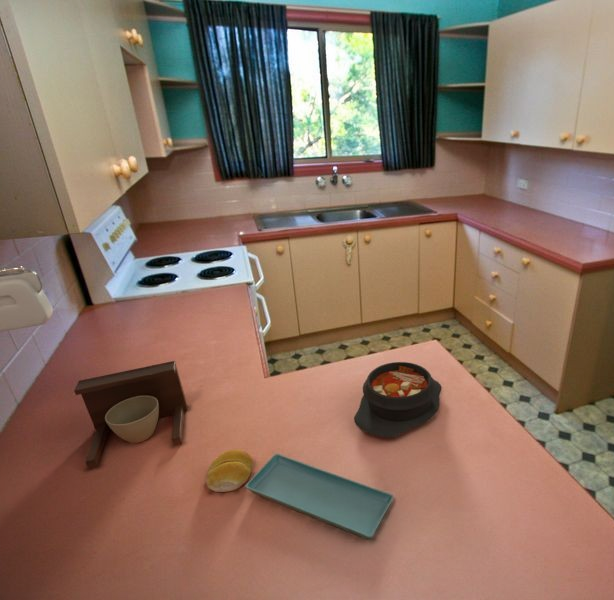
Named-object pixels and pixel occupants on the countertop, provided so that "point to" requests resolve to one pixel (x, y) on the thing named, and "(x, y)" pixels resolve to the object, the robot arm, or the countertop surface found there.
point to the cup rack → (126, 385)
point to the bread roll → (229, 471)
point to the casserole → (397, 399)
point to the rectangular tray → (321, 495)
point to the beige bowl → (134, 418)
